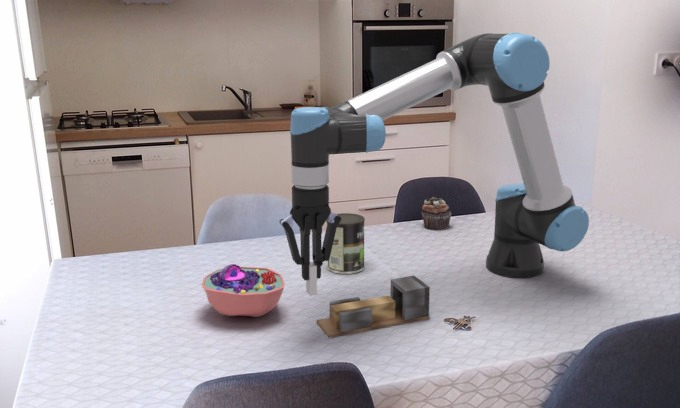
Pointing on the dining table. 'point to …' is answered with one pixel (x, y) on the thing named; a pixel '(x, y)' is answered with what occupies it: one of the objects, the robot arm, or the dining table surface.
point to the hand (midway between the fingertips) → (311, 293)
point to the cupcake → (436, 214)
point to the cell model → (243, 290)
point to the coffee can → (348, 245)
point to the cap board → (408, 308)
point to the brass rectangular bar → (380, 307)
